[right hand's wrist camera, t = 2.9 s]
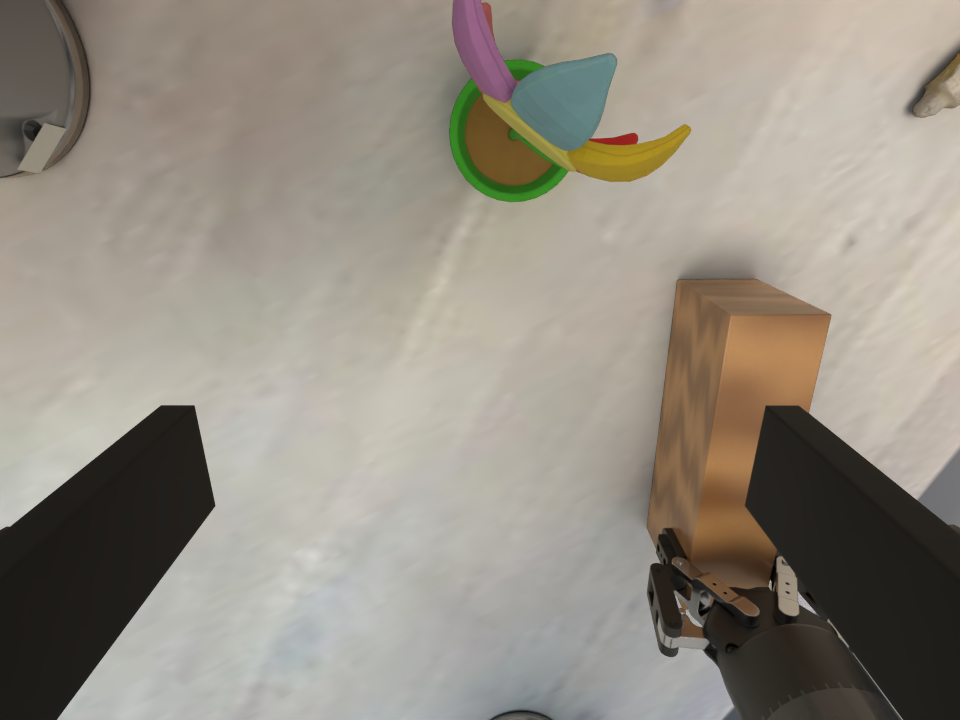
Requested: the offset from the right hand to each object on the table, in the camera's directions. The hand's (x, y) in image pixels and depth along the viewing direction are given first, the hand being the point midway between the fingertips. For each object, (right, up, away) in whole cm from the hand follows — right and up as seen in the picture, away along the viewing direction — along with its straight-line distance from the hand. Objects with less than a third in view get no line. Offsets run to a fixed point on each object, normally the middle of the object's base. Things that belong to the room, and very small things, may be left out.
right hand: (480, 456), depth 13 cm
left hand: (+19, -12, +32) cm, 39 cm away
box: (+19, -2, +34) cm, 39 cm away
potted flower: (+2, +18, +26) cm, 32 cm away
